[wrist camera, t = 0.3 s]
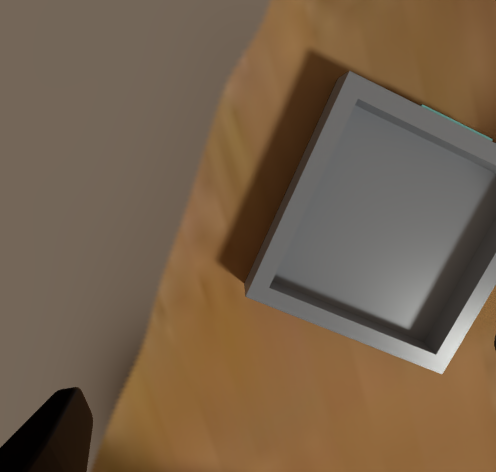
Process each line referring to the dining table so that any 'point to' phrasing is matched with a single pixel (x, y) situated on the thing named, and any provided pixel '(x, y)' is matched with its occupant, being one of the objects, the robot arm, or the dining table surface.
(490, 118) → the dining table surface
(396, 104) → the tray
